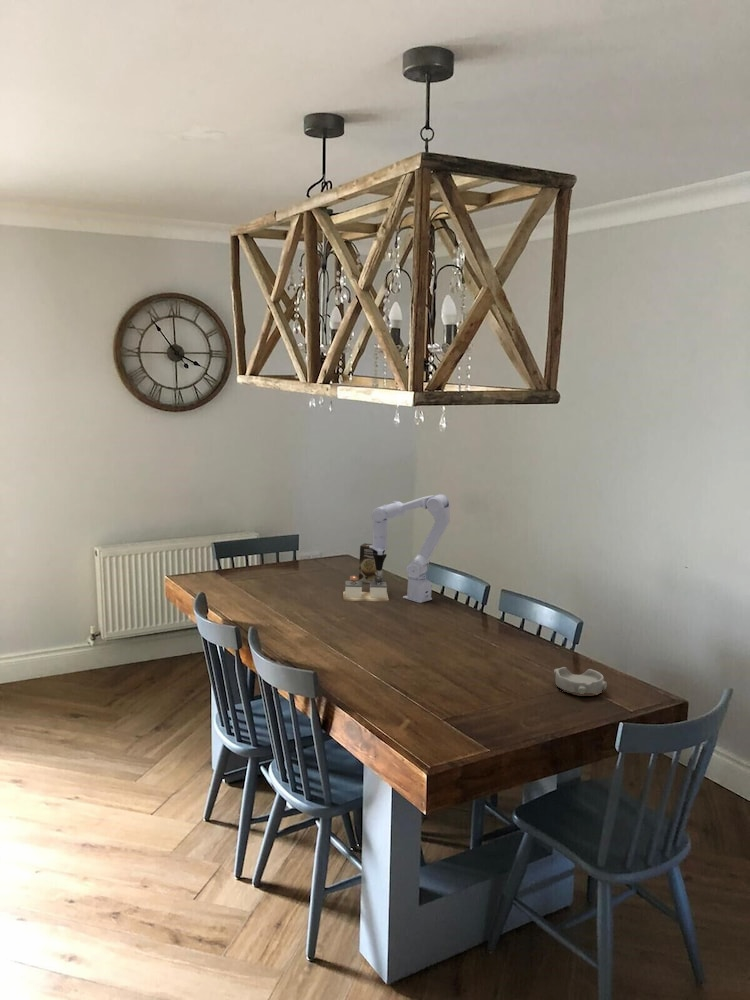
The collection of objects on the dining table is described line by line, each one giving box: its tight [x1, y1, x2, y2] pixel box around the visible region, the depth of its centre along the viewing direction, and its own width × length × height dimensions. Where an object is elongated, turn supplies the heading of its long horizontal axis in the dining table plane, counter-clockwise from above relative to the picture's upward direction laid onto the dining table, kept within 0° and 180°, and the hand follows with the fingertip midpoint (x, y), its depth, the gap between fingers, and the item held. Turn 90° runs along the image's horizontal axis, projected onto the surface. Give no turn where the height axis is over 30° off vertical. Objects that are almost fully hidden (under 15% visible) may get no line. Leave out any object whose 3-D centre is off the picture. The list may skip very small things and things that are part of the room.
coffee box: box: [358, 543, 383, 584], centre depth 351 cm, size 9×6×16 cm
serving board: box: [342, 591, 390, 602], centre depth 328 cm, size 18×10×1 cm, turn 93°
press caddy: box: [344, 580, 388, 598], centre depth 328 cm, size 17×7×5 cm, turn 93°
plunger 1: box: [349, 575, 359, 584], centre depth 327 cm, size 3×3×6 cm
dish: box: [553, 666, 608, 694], centre depth 241 cm, size 14×14×5 cm
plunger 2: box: [375, 576, 384, 584], centre depth 327 cm, size 3×3×6 cm
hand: (378, 568), depth 334 cm, fingers open, 7 cm apart
